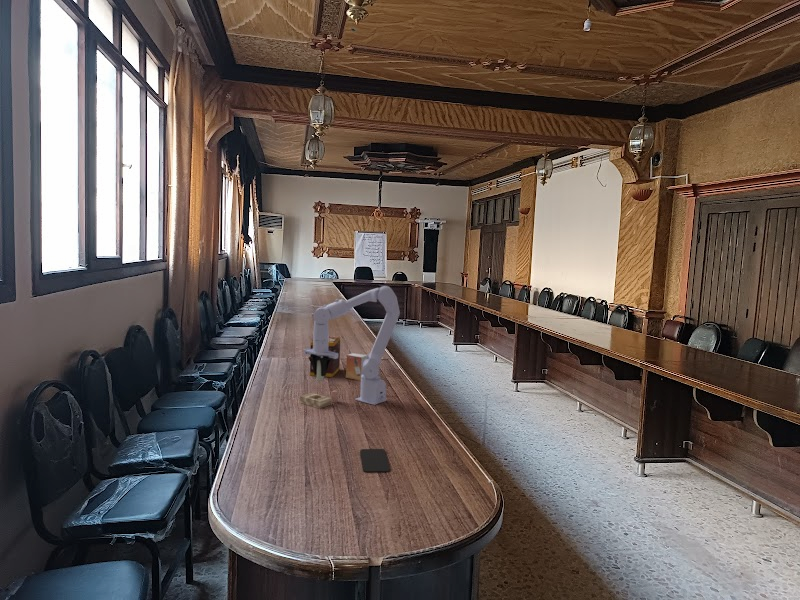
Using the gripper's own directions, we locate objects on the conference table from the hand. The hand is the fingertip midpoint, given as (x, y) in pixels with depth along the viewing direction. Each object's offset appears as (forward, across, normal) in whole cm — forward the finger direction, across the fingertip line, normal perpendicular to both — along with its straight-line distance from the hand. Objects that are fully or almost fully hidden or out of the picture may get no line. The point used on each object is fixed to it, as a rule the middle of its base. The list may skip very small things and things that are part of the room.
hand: (320, 375), depth 205 cm
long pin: (+2, 0, 0) cm, 2 cm away
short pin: (+10, -6, -1) cm, 11 cm away
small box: (+10, +4, -35) cm, 37 cm away
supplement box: (+10, +22, -36) cm, 43 cm away
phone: (+10, -46, +40) cm, 61 cm away
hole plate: (+9, -2, +5) cm, 11 cm away
